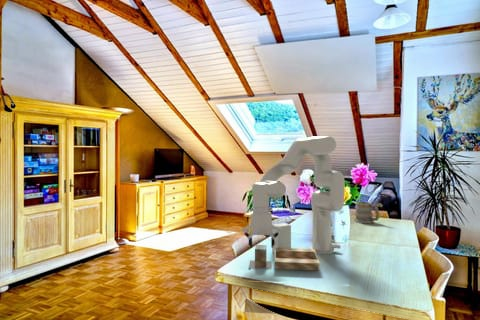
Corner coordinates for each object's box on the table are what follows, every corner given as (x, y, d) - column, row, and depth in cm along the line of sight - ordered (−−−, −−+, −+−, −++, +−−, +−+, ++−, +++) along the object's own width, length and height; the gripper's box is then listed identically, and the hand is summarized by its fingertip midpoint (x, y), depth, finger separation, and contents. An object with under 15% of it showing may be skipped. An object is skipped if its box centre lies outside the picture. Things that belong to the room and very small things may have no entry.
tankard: (351, 221, 245) (351, 201, 245) (359, 219, 254) (359, 199, 253) (377, 226, 230) (378, 204, 230) (385, 223, 239) (386, 202, 239)
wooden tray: (314, 259, 160) (314, 248, 160) (319, 274, 140) (320, 263, 140) (274, 257, 162) (274, 247, 162) (274, 272, 142) (274, 261, 142)
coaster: (271, 262, 155) (271, 261, 155) (271, 270, 145) (271, 268, 145) (250, 261, 156) (250, 260, 156) (248, 269, 146) (248, 267, 146)
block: (266, 262, 154) (266, 245, 153) (265, 267, 147) (266, 249, 146) (255, 261, 154) (255, 244, 154) (254, 266, 147) (254, 249, 147)
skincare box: (285, 250, 174) (285, 222, 173) (291, 253, 168) (291, 224, 168) (271, 252, 170) (271, 223, 170) (277, 255, 165) (277, 226, 164)
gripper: (279, 208, 153) (280, 244, 153) (242, 208, 154) (243, 244, 155) (280, 211, 145) (280, 249, 146) (241, 211, 147) (242, 249, 148)
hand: (261, 246), depth 151 cm, fingers open, 9 cm apart
